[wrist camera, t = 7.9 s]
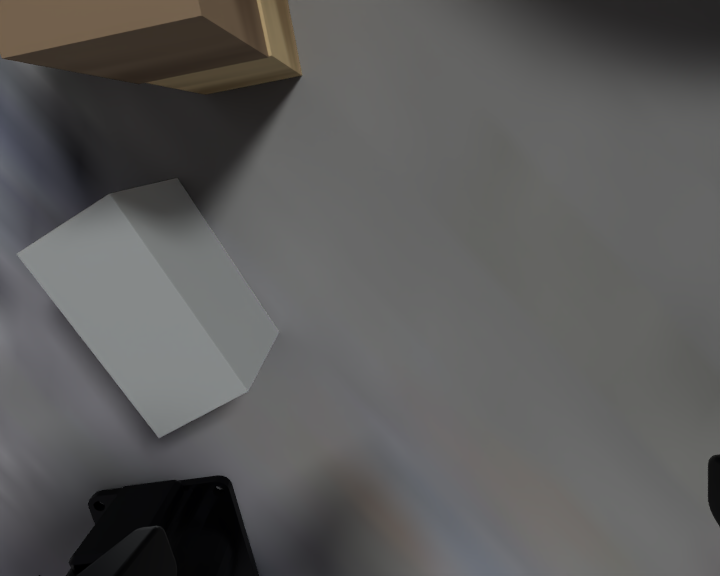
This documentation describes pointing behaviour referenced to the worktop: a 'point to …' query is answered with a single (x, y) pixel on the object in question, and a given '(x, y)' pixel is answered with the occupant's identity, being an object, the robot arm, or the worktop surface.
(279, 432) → the worktop surface
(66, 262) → the grey brick
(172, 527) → the robot arm
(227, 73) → the oak brick
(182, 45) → the walnut brick
